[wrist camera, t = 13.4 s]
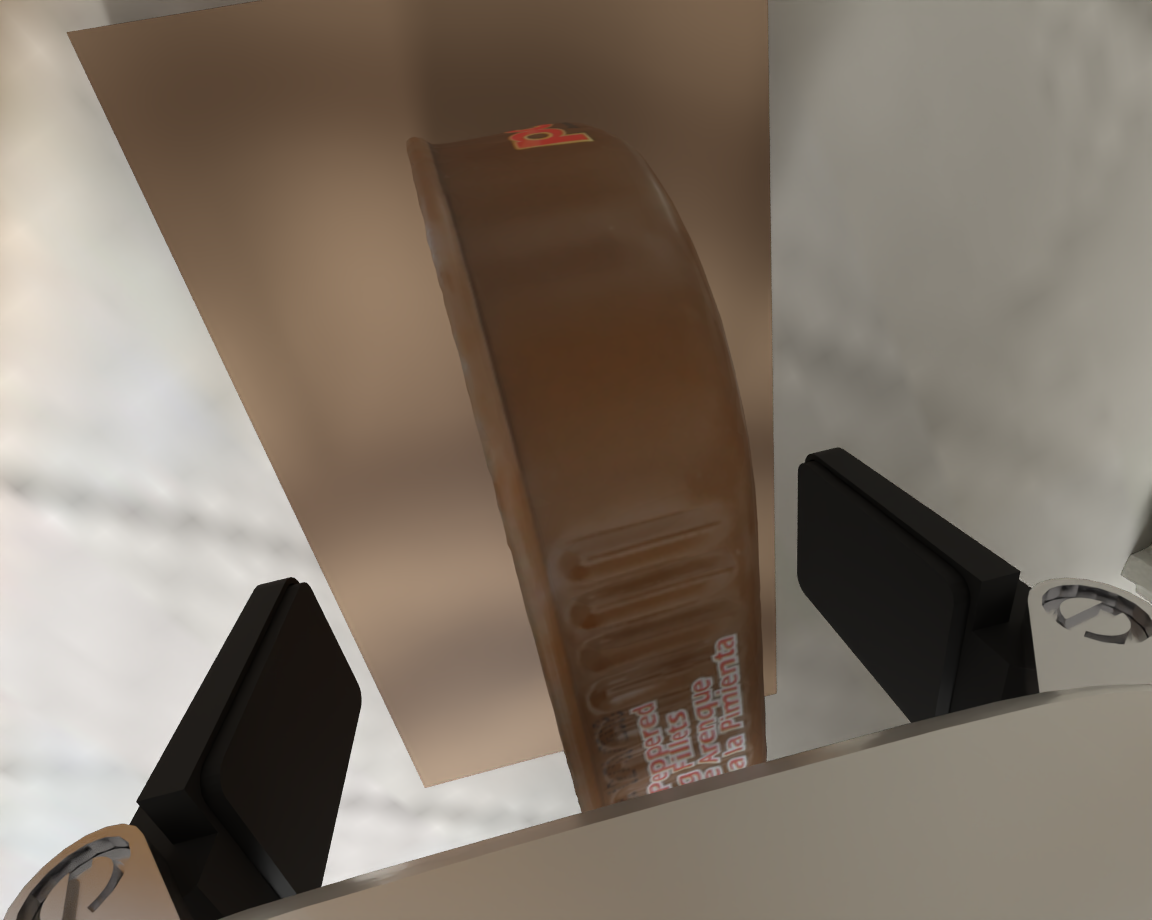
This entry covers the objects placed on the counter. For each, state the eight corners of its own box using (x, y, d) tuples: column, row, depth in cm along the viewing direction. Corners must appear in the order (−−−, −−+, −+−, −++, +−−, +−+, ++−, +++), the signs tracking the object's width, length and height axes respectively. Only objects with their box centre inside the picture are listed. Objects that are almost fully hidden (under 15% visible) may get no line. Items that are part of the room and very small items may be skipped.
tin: (413, 161, 11) (272, 87, 3) (573, 132, 11) (798, -2, 3) (555, 702, 17) (619, 1087, 10) (653, 677, 18) (786, 1034, 10)
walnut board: (756, 660, 20) (776, 693, 19) (428, 746, 19) (424, 787, 18) (732, -51, 11) (766, -83, 10) (118, 52, 10) (67, 32, 9)
